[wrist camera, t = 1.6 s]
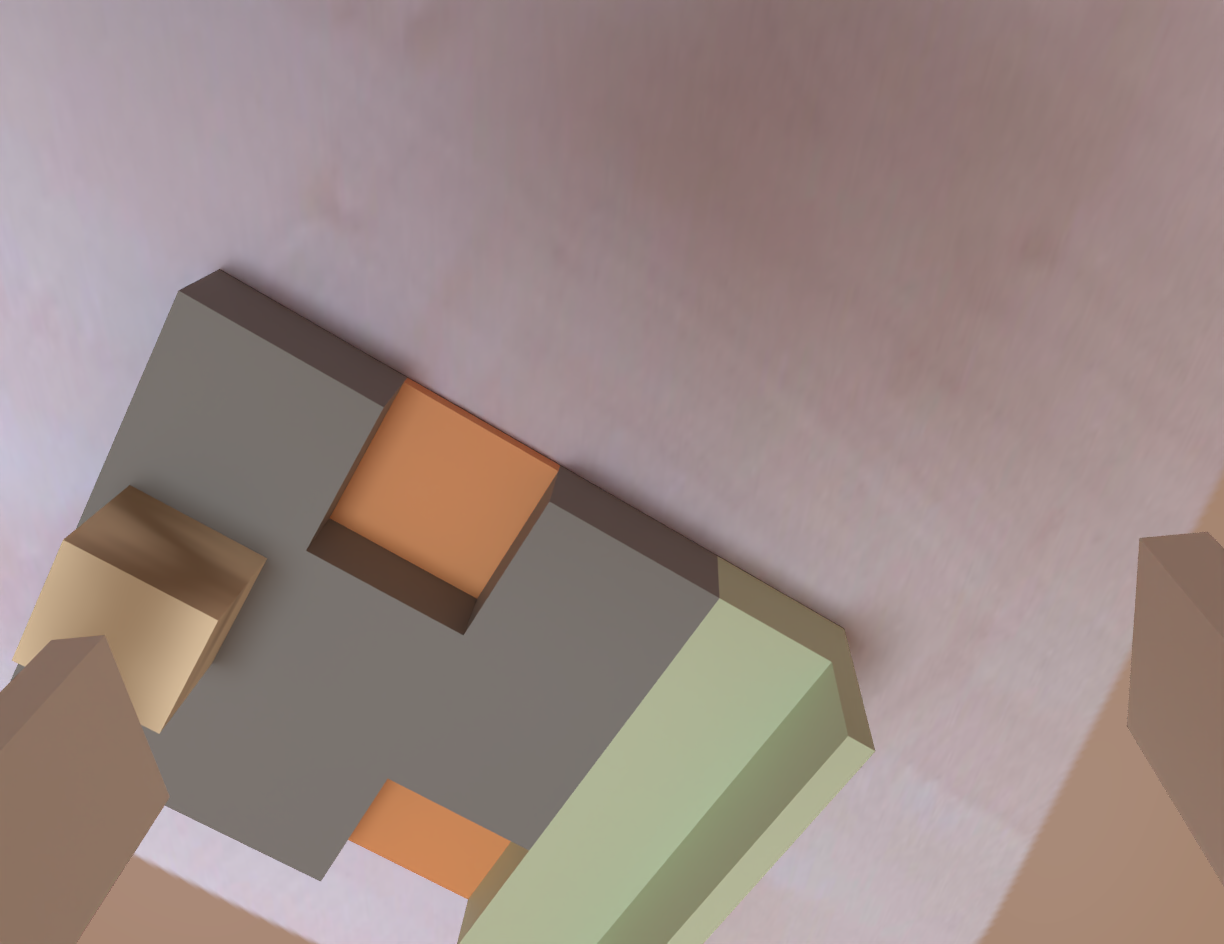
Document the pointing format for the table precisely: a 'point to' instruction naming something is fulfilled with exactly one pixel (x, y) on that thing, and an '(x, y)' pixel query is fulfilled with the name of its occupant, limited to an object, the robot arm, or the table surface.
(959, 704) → the table surface
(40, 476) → the table surface
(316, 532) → the box
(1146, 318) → the table surface
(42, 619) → the block
